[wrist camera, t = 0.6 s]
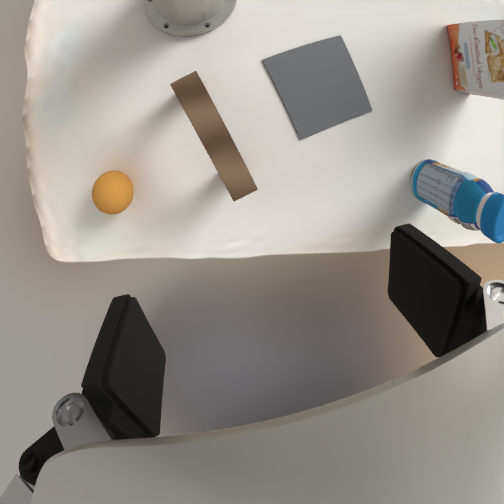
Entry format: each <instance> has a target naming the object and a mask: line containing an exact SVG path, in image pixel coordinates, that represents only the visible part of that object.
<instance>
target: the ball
mask: <svg viewBox="0 0 504 504" xmlns="http://www.w3.org/2000/svg"><path fill="white" fill-rule="evenodd" d="M92 198H93V201H94V204H95V205H96V207H97V208H98V209H99V210H100V211H102V212H104V213H106V214H117V213H120V212H122V211H124V210H125V209H126V208H127V207H128V206H129V204H130V203H131V201H132V198H133V185H132V183H131V181H130V179H129V178H128V177H127V176H126V175H125V174H123V173H121V172H118V171H109V172H106V173H104V174H102V175H101V176H100V177H99V178H98V179H97V180H96V182H95V184H94V186H93V190H92Z"/></svg>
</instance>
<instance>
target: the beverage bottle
mask: <svg viewBox="0 0 504 504" xmlns="http://www.w3.org/2000/svg"><path fill="white" fill-rule="evenodd" d="M411 187H412V191H413V193H414V195H415V197H416V198H417V199H418V200H420V201H422V202H424V203H426V204H428V205H430V206H432V207H434V208H435V209H437V210H439V211H440V212H442V213H443V214H445V215H447V216H448V217H449V218H450V219H451V220H452V221H453V222H455V223H458V224H461V225H462V226H463V227H464V228H466V229H469V230H481V232H482V233H483V234H484V235H485V236H487V237H488V238H489V239H491V240H492V241H494V242H496V243H502V242H504V195H503V194H501V193H498V192H494V191H493V190H492V188H491V187H490V186H489V184H488V183H487V182H485V181H484V180H482V179H479V178H476V177H475V176H474V175H472V174H470V173H468V172H462V171H459V170H457V169H454V168H451V167H449V166H446V165H444V164H441V163H439V162H437V161H435V160H431V159H426V160H423V161H422V162H420V163H419V164H418V165H417V166H416V168H415V170H414V172H413V174H412V179H411Z"/></svg>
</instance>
